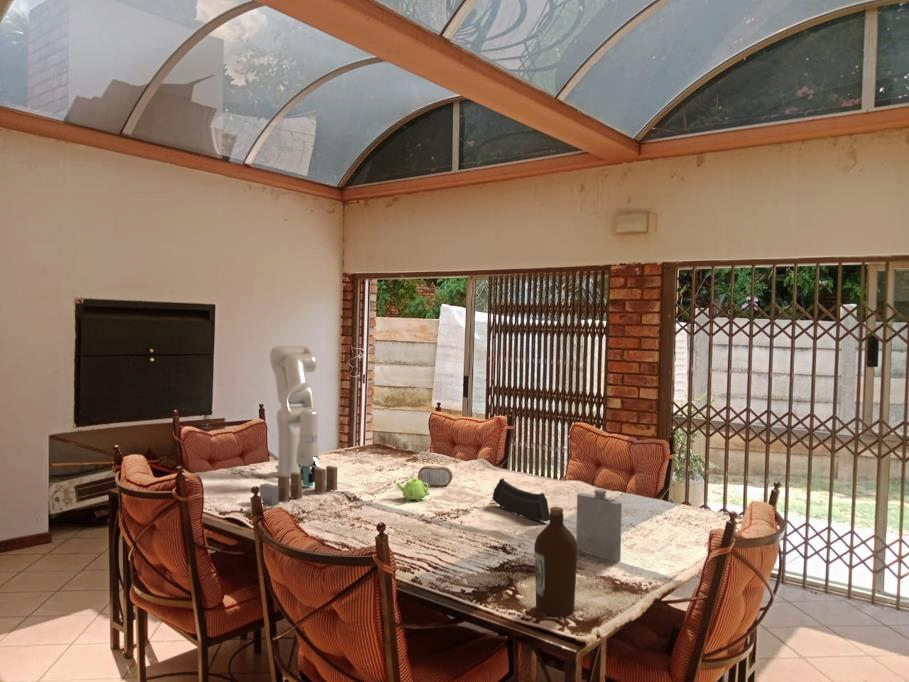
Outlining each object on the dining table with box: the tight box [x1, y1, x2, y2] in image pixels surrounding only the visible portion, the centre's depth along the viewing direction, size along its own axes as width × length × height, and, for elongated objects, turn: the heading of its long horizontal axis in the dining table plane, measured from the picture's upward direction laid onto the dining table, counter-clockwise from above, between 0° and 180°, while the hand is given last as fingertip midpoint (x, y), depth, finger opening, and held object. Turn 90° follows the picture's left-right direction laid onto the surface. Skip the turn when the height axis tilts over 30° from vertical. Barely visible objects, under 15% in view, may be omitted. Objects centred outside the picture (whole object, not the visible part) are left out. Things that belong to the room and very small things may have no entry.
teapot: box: [396, 477, 430, 502], centre depth 280 cm, size 11×12×8 cm
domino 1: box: [277, 474, 291, 503], centre depth 275 cm, size 2×5×10 cm, turn 49°
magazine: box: [492, 478, 550, 522], centre depth 260 cm, size 17×3×30 cm
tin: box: [417, 465, 453, 487], centre depth 305 cm, size 15×3×8 cm, turn 84°
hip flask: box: [575, 488, 623, 562], centre depth 215 cm, size 16×4×20 cm, turn 41°
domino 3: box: [302, 465, 314, 487], centre depth 299 cm, size 2×5×10 cm, turn 49°
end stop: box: [259, 482, 280, 507], centre depth 270 cm, size 8×3×7 cm, turn 49°
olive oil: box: [533, 506, 579, 617], centre depth 172 cm, size 11×11×25 cm
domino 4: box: [314, 467, 327, 494], centre depth 289 cm, size 2×5×10 cm, turn 49°
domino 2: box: [290, 472, 303, 500], centre depth 280 cm, size 2×5×10 cm, turn 49°
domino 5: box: [325, 465, 338, 492], centre depth 293 cm, size 2×5×10 cm, turn 49°
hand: (307, 480), depth 300 cm, fingers closed on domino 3, 4 cm apart
